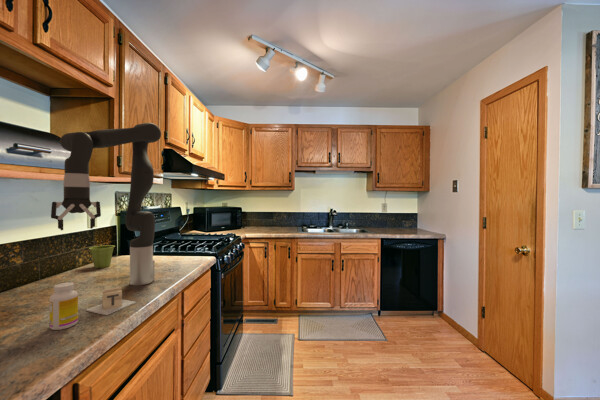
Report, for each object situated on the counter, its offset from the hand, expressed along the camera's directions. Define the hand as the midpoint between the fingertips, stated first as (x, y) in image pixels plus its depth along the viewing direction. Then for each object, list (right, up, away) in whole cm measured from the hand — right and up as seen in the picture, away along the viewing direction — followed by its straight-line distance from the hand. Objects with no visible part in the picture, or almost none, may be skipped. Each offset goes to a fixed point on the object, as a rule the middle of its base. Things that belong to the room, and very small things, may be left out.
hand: (77, 229), depth 100 cm
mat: (+15, -28, -3) cm, 32 cm away
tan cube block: (+15, -28, -3) cm, 32 cm away
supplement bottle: (+10, -28, -17) cm, 35 cm away
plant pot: (-29, -27, +51) cm, 65 cm away
